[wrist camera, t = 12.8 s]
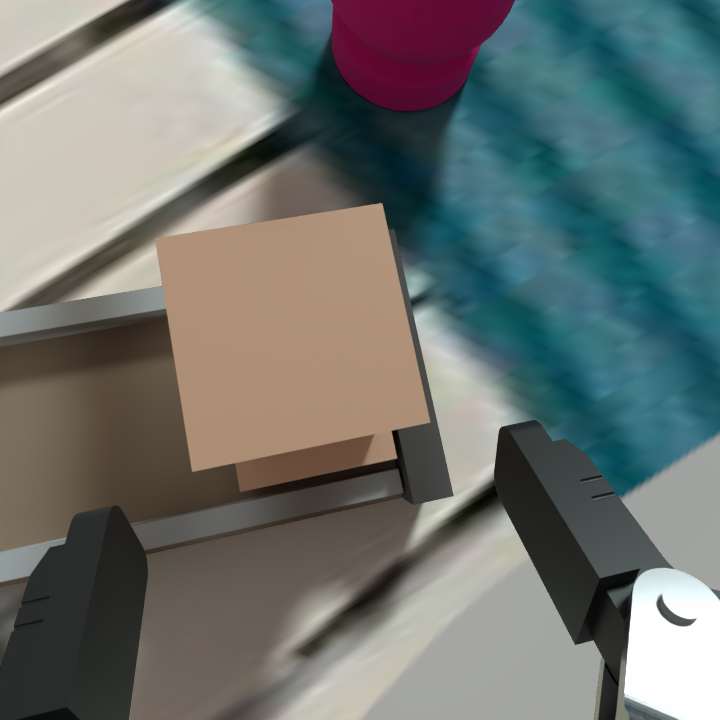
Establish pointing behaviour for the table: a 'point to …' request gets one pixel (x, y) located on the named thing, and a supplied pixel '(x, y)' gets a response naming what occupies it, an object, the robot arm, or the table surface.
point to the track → (149, 437)
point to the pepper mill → (411, 47)
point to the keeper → (291, 345)
